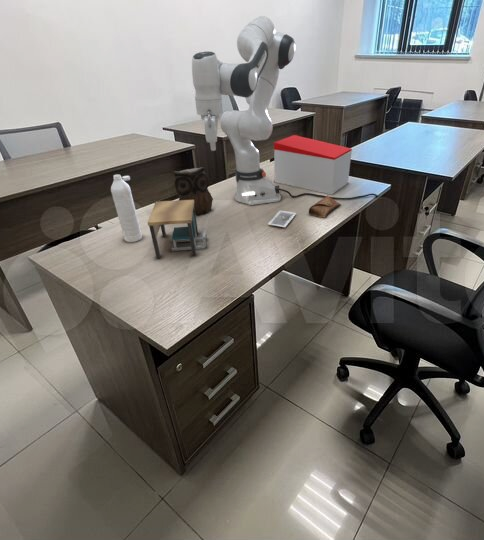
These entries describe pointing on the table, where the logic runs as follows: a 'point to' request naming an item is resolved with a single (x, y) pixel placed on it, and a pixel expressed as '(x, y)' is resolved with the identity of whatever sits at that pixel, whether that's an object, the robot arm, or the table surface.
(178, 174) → the owl
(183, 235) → the chair
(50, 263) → the table surface
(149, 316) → the table surface
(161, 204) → the desk
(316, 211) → the sunglasses case
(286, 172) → the red-lidded white box
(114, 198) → the water bottle
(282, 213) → the deck of cards
